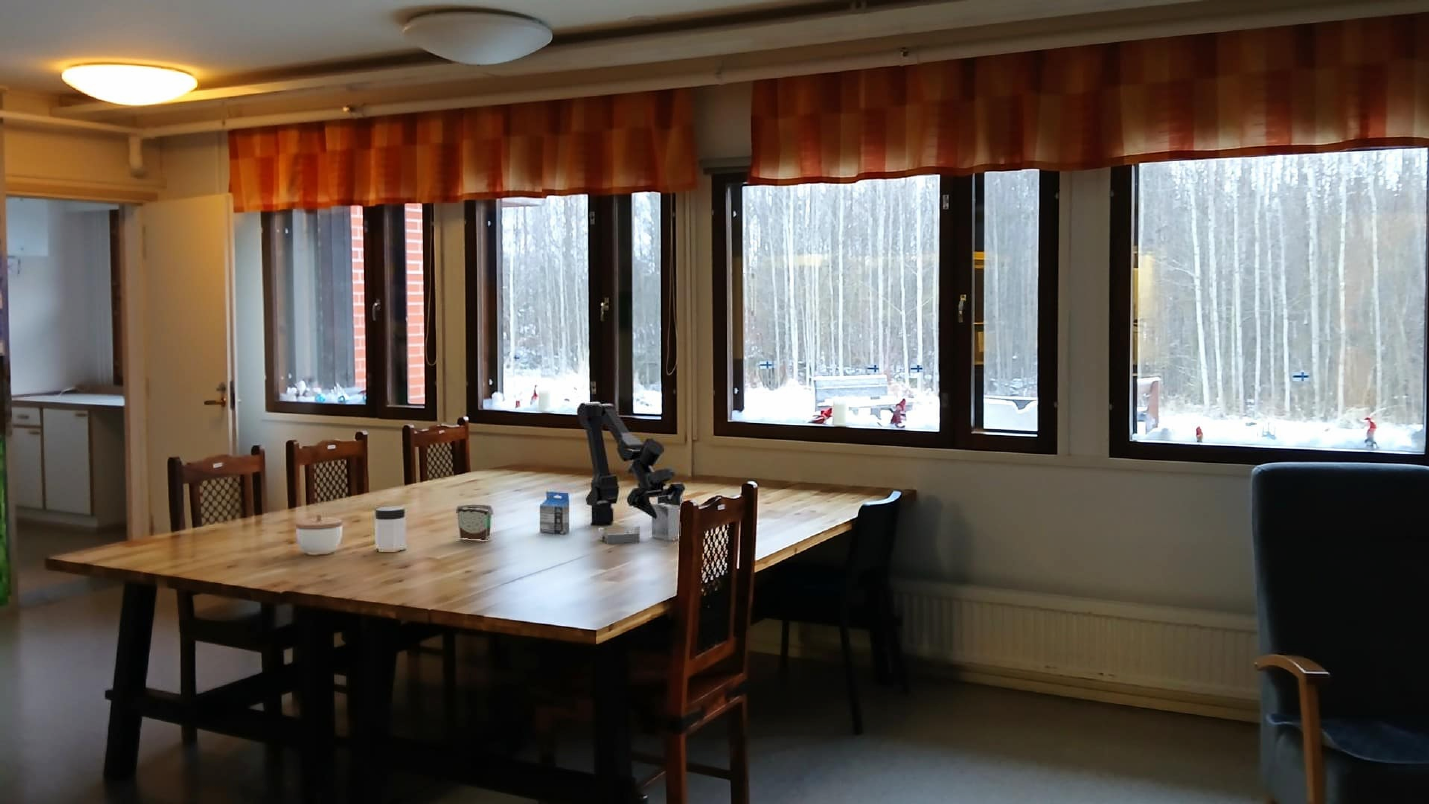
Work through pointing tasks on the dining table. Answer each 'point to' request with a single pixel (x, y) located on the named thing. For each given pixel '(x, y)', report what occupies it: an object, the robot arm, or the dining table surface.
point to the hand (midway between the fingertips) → (668, 516)
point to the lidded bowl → (319, 533)
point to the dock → (619, 536)
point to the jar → (390, 527)
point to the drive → (666, 521)
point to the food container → (474, 521)
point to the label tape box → (555, 513)
